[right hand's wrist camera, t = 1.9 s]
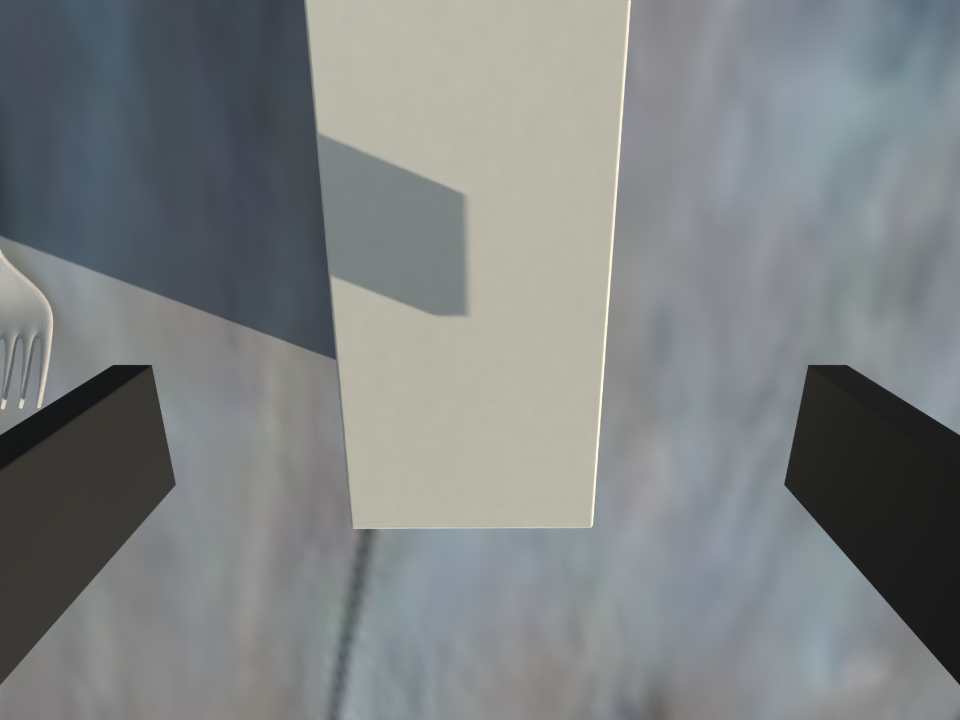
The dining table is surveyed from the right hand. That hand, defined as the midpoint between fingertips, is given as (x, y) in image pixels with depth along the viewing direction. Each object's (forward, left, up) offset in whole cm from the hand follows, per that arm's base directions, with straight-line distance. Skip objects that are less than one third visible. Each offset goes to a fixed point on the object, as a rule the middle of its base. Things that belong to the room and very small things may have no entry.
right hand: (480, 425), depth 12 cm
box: (+2, +8, -12) cm, 15 cm away
